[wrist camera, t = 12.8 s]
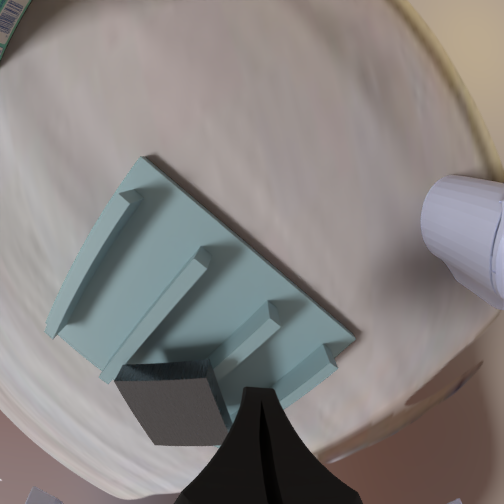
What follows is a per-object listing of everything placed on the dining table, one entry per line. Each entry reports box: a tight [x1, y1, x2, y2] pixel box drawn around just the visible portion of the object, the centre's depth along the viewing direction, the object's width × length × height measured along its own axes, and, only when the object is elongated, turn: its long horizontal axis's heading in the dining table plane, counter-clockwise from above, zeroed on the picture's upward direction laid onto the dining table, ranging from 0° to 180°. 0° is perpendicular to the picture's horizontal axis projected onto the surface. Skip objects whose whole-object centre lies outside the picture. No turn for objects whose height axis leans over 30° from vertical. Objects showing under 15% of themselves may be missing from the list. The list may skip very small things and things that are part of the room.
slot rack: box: [44, 156, 356, 448], centre depth 20 cm, size 21×18×3 cm
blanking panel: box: [114, 359, 233, 446], centre depth 19 cm, size 2×8×7 cm
